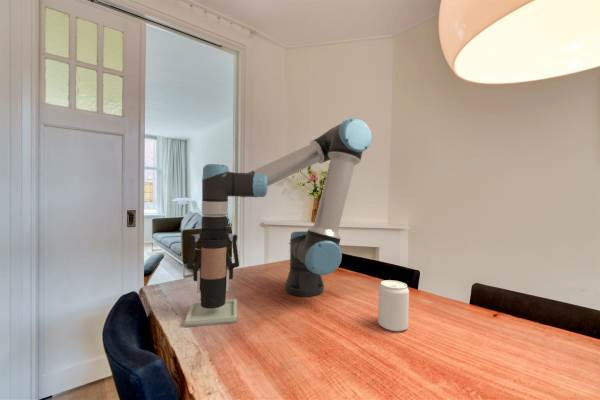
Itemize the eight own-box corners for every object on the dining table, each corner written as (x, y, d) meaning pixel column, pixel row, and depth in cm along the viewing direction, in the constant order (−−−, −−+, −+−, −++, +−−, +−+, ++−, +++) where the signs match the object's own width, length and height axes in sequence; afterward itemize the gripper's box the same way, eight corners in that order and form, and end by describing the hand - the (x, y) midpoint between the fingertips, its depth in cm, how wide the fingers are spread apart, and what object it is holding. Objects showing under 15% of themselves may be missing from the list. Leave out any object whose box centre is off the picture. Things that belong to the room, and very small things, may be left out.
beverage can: (407, 322, 80) (408, 281, 80) (408, 335, 72) (409, 290, 72) (378, 317, 82) (379, 278, 82) (377, 329, 75) (378, 286, 75)
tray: (236, 303, 91) (236, 299, 91) (237, 322, 78) (237, 317, 78) (192, 307, 88) (192, 302, 88) (184, 327, 74) (184, 321, 74)
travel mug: (194, 306, 81) (195, 239, 80) (211, 297, 88) (212, 236, 88) (214, 310, 78) (216, 241, 78) (231, 301, 85) (232, 237, 85)
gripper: (248, 215, 89) (247, 284, 89) (180, 214, 84) (179, 288, 84) (249, 216, 81) (248, 292, 81) (175, 216, 76) (174, 297, 77)
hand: (213, 290), depth 83 cm, fingers closed on travel mug, 8 cm apart
